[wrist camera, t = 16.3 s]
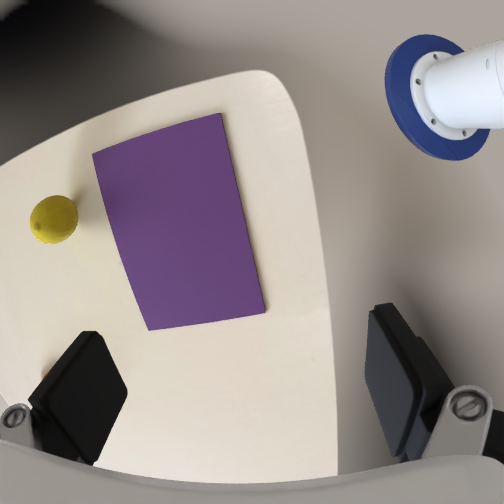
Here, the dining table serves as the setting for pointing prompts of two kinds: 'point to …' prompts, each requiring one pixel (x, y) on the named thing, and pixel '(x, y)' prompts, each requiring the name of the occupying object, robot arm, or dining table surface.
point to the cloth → (180, 224)
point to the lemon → (54, 219)
